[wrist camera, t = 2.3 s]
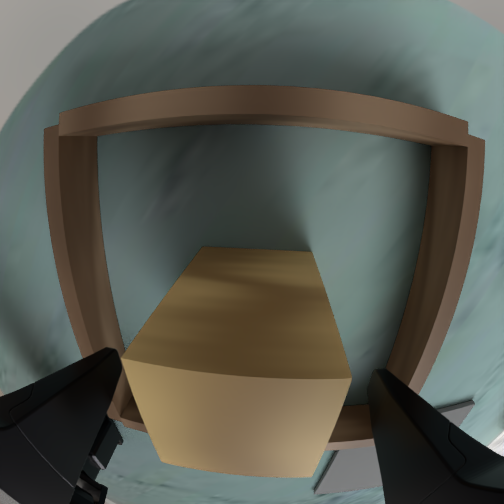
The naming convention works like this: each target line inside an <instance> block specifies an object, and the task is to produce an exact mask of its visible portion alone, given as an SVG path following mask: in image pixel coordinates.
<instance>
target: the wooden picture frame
mask: <svg viewBox="0 0 504 504" xmlns="http://www.w3.org/2000/svg"><path fill="white" fill-rule="evenodd" d="M222 124H258V125H285V126H302V127H314V128H325V129H335V130H344V131H352V132H359V133H366V134H373V135H379V136H385V137H390V138H396V139H401V140H406V141H411V142H416V143H420V144H425V145H429V146H431V164H430V178H429V188H428V197H427V206H426V213H425V220H424V227H423V233H422V238H421V244H420V249H419V254H418V259H417V264H416V269H415V273H414V277H413V281H412V285H411V289H410V293H409V297H408V301H407V304H406V308H405V311H404V315H403V318H402V322H401V325H400V328H399V331H398V334H397V337H396V340H395V343H394V346H393V349H392V352H391V355H390V357H389V360H388V363H387V365H386V369H387V370H389V371H390V372H391V373H392V374H394V375H395V376H396V377H397V378H398V379H400V380H401V381H402V382H403V383H404V384H406V385H407V386H408V387H409V388H411V389H412V390H413V391H414V392H415V393H417V394H419V392H420V391H421V389H422V387H423V385H424V383H425V381H426V379H427V377H428V375H429V373H430V371H431V369H432V366H433V364H434V362H435V360H436V358H437V355H438V353H439V351H440V348H441V346H442V344H443V341H444V339H445V336H446V334H447V331H448V329H449V326H450V323H451V321H452V318H453V315H454V312H455V309H456V306H457V303H458V300H459V297H460V294H461V291H462V287H463V284H464V280H465V277H466V273H467V269H468V265H469V261H470V257H471V253H472V248H473V244H474V239H475V234H476V228H477V223H478V217H479V210H480V203H481V195H482V185H483V174H484V157H485V140H483V139H480V138H477V137H475V136H472V135H469V134H468V122H467V121H464V120H461V119H458V118H456V117H453V116H449V115H446V114H443V113H440V112H437V111H433V110H430V109H426V108H422V107H419V106H415V105H411V104H407V103H403V102H398V101H394V100H389V99H384V98H379V97H374V96H369V95H363V94H357V93H350V92H343V91H336V90H327V89H318V88H307V87H293V86H271V85H230V86H208V87H194V88H183V89H174V90H165V91H158V92H151V93H144V94H138V95H132V96H127V97H121V98H116V99H112V100H107V101H102V102H98V103H94V104H90V105H86V106H82V107H78V108H75V109H71V110H68V111H64V112H61V113H60V114H59V124H58V125H55V126H51V127H48V128H45V129H44V178H45V193H46V204H47V213H48V221H49V229H50V236H51V242H52V248H53V253H54V259H55V264H56V268H57V273H58V278H59V282H60V286H61V290H62V294H63V298H64V302H65V305H66V309H67V312H68V316H69V319H70V322H71V325H72V329H73V332H74V335H75V338H76V341H77V343H78V346H79V349H80V352H81V355H82V357H83V358H85V357H87V356H89V355H91V354H93V353H95V352H97V351H99V350H101V349H103V348H105V347H111V348H115V349H117V351H118V353H119V357H120V360H121V357H122V356H123V354H124V353H125V348H124V344H123V341H122V337H121V333H120V329H119V325H118V320H117V316H116V312H115V307H114V302H113V297H112V292H111V287H110V282H109V276H108V270H107V264H106V258H105V251H104V243H103V235H102V226H101V216H100V205H99V190H98V168H97V136H102V135H108V134H114V133H121V132H128V131H136V130H145V129H154V128H165V127H178V126H194V125H222ZM121 363H122V360H121ZM107 414H108V416H109V418H111V419H114V420H117V421H120V422H123V424H124V426H125V427H128V428H132V429H135V430H139V431H143V432H146V433H148V431H147V429H146V426H145V424H144V422H143V419H142V417H141V414H140V412H139V409H138V406H137V404H136V401H135V398H134V396H133V393H132V390H131V387H130V385H129V382H128V379H127V376H126V373H125V370H124V366H123V363H122V373H121V376H120V378H119V381H118V384H117V387H116V390H115V393H114V396H113V399H112V402H111V404H110V407H109V409H108V411H107ZM370 446H375V443H374V439H373V434H372V429H371V422H370V412H369V404H367V405H353V406H342V409H341V411H340V414H339V417H338V419H337V422H336V424H335V427H334V429H333V431H332V434H331V436H330V439H329V441H328V443H327V446H326V448H325V450H324V451H327V450H342V449H353V448H362V447H370Z"/></svg>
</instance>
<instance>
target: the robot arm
mask: <svg viewBox="0 0 504 504" xmlns="http://www.w3.org/2000/svg"><path fill="white" fill-rule="evenodd" d="M121 373H122V363H121V360H120V357H119V353H118V351H117V349H115V348H111V347H105V348H103V349H101V350H99V351H97V352H95V353H93V354H91V355H89V356H87V357H85V358H83V359H81V360H79V361H77V362H75V363H73V364H71V365H69V366H67V367H65V368H63V369H61V370H59V371H57V372H55V373H53V374H51V375H49V376H46V377H44V378H42V379H40V380H38V381H36V382H35V383H32V384H30V385H28V386H26V387H23V388H21V389H19V390H17V391H14V392H12V393H9V394H6V395H4V396H1V397H0V504H104V503H105V499H106V495H107V490H108V488H107V487H106V486H104V485H102V484H99V483H98V482H96V481H95V479H96V477H97V475H98V473H99V471H100V469H102V470H104V469H106V467H107V465H108V463H109V461H110V459H111V457H112V455H113V452H114V450H115V448H116V446H117V444H119V445H122V444H123V439H122V437H121V435H120V434H119V432H118V430H117V428H116V426H115V424H114V422H113V420H112V419H111V418H109V416H108V414H107V411H108V409H109V407H110V404H111V402H112V399H113V396H114V393H115V390H116V387H117V384H118V381H119V378H120V376H121ZM367 394H368V402H369V412H370V422H371V429H372V434H373V439H374V443H375V448H376V453H377V458H378V463H379V468H380V474H381V479H382V485H383V491H384V498H385V504H504V457H503V456H501V455H499V454H497V453H496V452H494V451H492V450H491V449H489V448H488V447H486V446H484V445H483V444H481V443H480V442H478V441H477V440H475V439H474V438H472V437H471V436H469V435H468V434H466V433H465V432H464V431H462V430H461V429H460V428H459V427H457V426H456V425H455V424H454V423H452V422H450V420H449V419H447V418H446V417H445V416H444V415H442V414H441V413H440V412H439V411H438V410H436V409H435V408H434V407H433V406H431V405H430V404H429V403H428V402H426V401H425V400H424V399H423V398H422V397H420V396H419V395H418V394H417V393H415V392H414V391H413V390H412V389H411V388H409V387H408V386H407V385H406V384H404V383H403V382H402V381H401V380H400V379H398V378H397V377H396V376H395V375H394V374H392V373H391V372H390V371H389V370H387V369H386V368H378V369H375V370H374V371H373V373H372V376H371V378H370V381H369V383H368V387H367Z"/></svg>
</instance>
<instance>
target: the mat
mask: <svg viewBox="0 0 504 504" xmlns="http://www.w3.org/2000/svg"><path fill="white" fill-rule="evenodd" d="M474 405H475V403H474V401H473V400H471V401H468V402H465V403H461V404H457V405H453V406H449V407H445V408H441V409H437V410H438V411H439V412H440V413H441V414H442V415H444V416H445V417H446V418H447V419H449V420H450V422H452V423H454V424H455V425H456V426H457V427H459V426H460V424H461V423H462V422H463V420H464V419H465V418H466V416H467V415H468V413H469V412H470V411H471V409H472V408H473V406H474ZM379 486H383V485H382V479H381V474H380V468H379V463H378V458H377V453H376V448H375V446H370V447H362V448H353V449H342V450H336V451H335V453H334V455H333V457H332V459H331V461H330V463H329V465H328V467H327V469H326V470H325V472H324V474H323V476H322V478H321V479H320V481H319V483H318V485H317V486H316V488H315V490H314V494H326V493H337V492H346V491H354V490H361V489H368V488H374V487H379Z"/></svg>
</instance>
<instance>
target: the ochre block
mask: <svg viewBox="0 0 504 504" xmlns="http://www.w3.org/2000/svg"><path fill="white" fill-rule="evenodd" d="M121 360H122V363H123V366H124V370H125V373H126V376H127V379H128V382H129V385H130V387H131V390H132V393H133V396H134V398H135V401H136V404H137V406H138V409H139V412H140V414H141V417H142V419H143V422H144V424H145V426H146V429H147V431H148V433H149V436H150V438H151V440H152V442H153V445H154V447H155V449H156V451H157V453H158V455H159V457H160V459H161V461H162V462H164V463H168V464H173V465H177V466H182V467H187V468H192V469H198V470H204V471H210V472H217V473H225V474H234V475H245V476H259V477H312V475H313V473H314V471H315V469H316V467H317V465H318V463H319V461H320V459H321V457H322V454H323V452H324V450H325V448H326V446H327V443H328V441H329V439H330V436H331V434H332V431H333V429H334V427H335V424H336V422H337V419H338V417H339V414H340V411H341V409H342V406H343V403H344V401H345V398H346V395H347V392H348V389H349V387H350V384H351V381H352V376H351V372H350V368H349V365H348V361H347V358H346V355H345V351H344V348H343V344H342V341H341V338H340V335H339V331H338V328H337V325H336V322H335V319H334V315H333V312H332V309H331V306H330V303H329V300H328V297H327V294H326V291H325V288H324V285H323V282H322V279H321V276H320V273H319V270H318V267H317V265H316V262H315V259H314V256H313V253H312V252H306V251H286V250H266V249H246V248H225V247H204V246H203V247H202V248H201V249H200V250H199V252H198V253H197V254H196V256H195V257H194V258H193V260H192V261H191V262H190V263H189V265H188V266H187V267H186V269H185V270H184V271H183V273H182V274H181V275H180V277H179V278H178V279H177V281H176V282H175V283H174V285H173V286H172V287H171V289H170V290H169V291H168V293H167V294H166V295H165V297H164V298H163V299H162V301H161V302H160V304H159V305H158V306H157V308H156V309H155V310H154V312H153V313H152V315H151V316H150V317H149V319H148V320H147V321H146V323H145V324H144V326H143V327H142V328H141V330H140V331H139V333H138V334H137V335H136V337H135V338H134V340H133V341H132V343H131V344H130V345H129V347H128V348H127V350H126V351H125V353H124V354H123V356H122V357H121Z"/></svg>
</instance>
